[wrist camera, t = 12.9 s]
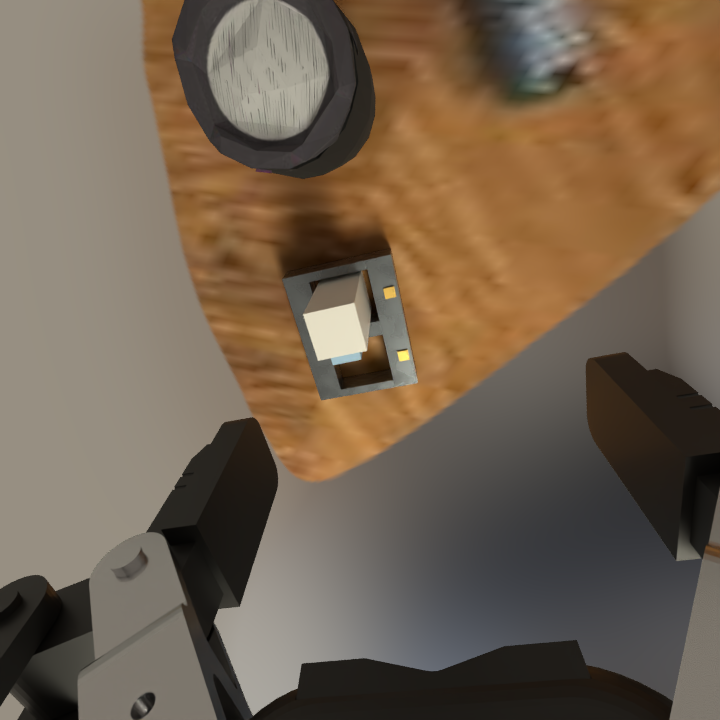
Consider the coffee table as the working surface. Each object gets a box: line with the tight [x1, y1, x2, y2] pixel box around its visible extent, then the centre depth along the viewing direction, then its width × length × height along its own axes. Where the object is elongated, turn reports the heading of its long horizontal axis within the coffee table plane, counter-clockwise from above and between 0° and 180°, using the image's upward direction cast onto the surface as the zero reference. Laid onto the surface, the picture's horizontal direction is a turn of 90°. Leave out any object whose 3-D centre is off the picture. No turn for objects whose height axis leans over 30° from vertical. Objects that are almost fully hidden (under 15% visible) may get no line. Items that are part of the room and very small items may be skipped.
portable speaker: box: [172, 0, 375, 179], centre depth 27 cm, size 9×9×20 cm
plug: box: [303, 270, 372, 365], centre depth 39 cm, size 5×4×10 cm
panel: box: [282, 248, 418, 400], centre depth 43 cm, size 13×10×3 cm
